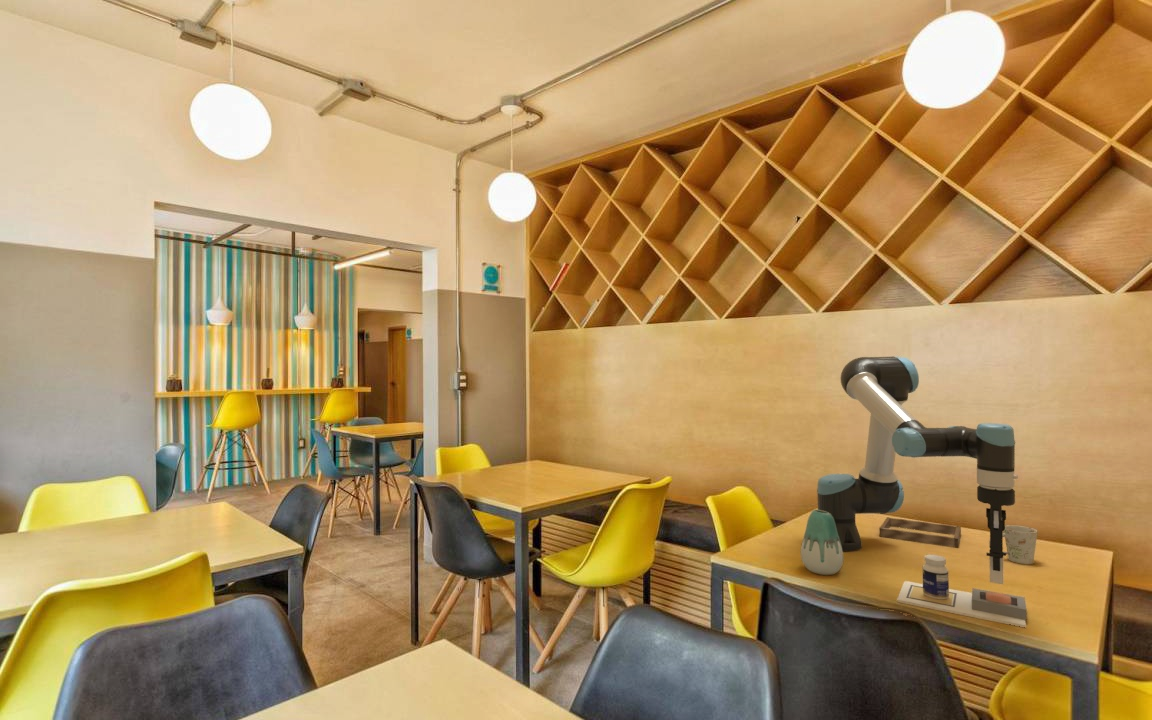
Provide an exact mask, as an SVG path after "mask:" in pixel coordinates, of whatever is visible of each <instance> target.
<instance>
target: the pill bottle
mask: <svg viewBox="0 0 1152 720" xmlns="http://www.w3.org/2000/svg"><path fill="white" fill-rule="evenodd" d="M924 562H925V563H924V564H923V565H922V584H923V593H924V595H926V596H927V597H930V598H933V599H939V600H945V599H947V598H948V597H949V589H950V588H949V587H950V586H949V585H950V583H949V581H950V580H949V569H948V568H947V567H946V564H947V559H946V558H945V557H944V556H942V555H941V556H940V555H938V554H937V555H936V554H926V555H924Z"/></svg>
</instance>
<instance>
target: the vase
mask: <svg viewBox="0 0 1152 720" xmlns="http://www.w3.org/2000/svg"><path fill="white" fill-rule="evenodd" d="M800 559H801V562H802V564H803V565H804V567H805V568H806V569H807V570H808V571H810V572H811V573H813V574H818V575H820V576H821V575H824V576H831V575H836V574H837V573H838V572H839V571H841V569H842V567H843V565H844V551H843V550H842V545H841V542H840V539H839V536H838V532H837V528H836V524H835V521H834V518H833V516H832V515H831V514H830V513H829V512H826V511H823V510H818V509H813V510H812V511H811V512H810V514H809V516H808V519H807V521H806V527H805V530H804V533H803V538H802V542H801V548H800Z"/></svg>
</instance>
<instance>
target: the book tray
mask: <svg viewBox="0 0 1152 720" xmlns="http://www.w3.org/2000/svg"><path fill="white" fill-rule="evenodd" d="M892 527H893V528H892ZM899 527H900V529H901V530H900V529H895V528H899ZM906 528H907V530H902V529H906ZM908 529H909V531H908ZM914 529H915V531H910V530H914ZM917 531H923V532H930V533H922V532H917ZM878 532H879V538H880V537H881V538H886V539H894V540H895V539H896V540H900V541H907V542H912V543H913V542H915V543H920V544H921V543H922V544H928V545H936V546H942V547H949V548H957V549H959V548H960V542H961V537H962V533H961V532H962V528H961V526H959V525H951V524H944V523H943V524H942V523H935V522H927V521H919V520H911V519H905V518H904V519H903V518H897V517H886V518H885V519H884V521H883V522H882V524H881V525H880V526H879V531H878ZM931 533H937V534H931ZM939 534H944V535H939ZM946 535H952V536H953V537H952V536H946Z"/></svg>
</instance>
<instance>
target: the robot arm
mask: <svg viewBox="0 0 1152 720" xmlns="http://www.w3.org/2000/svg"><path fill="white" fill-rule="evenodd" d="M919 379H920V376H919V372H918V369H917V367H916V365H915V364H914V362H913V361H912V360H910V359H909V358H907V357H902V356H870V357H869V356H861V357H856V358H854V359H852V360H849V362H847V364H845V366H844V367H843V369H842V371H841V374H840V385H841V388H842V389H843V391H844V392H845V393H846V394H847V395H848V396H849V397H850V398H851V399H853V400H857V401H858V403H860V404H861V405H862V406H863V407H864V408H865V409H866V410H867V411H868V412H869V413H870V418H869V426H868V437H867V444H866V445H867V446H866V451H865V452H866V454H865V463H864V467H863V468H862V469H860V470H859V472H858V478H855V477H854V475H852V474H850V473H849V474H848V473H833V474H827V475H826V474H825V475H824V476H821V477H820V478H819V479H818V481H817V489H816V493H817V495H816V496H817V510H823V511H826V512H829V513H830V514H831V515H832V516H833V518H834V521H835V524H836V528H837V532H838V536H839V539H840V542H841V545H842V550H843V552H854V551H859V550H861V549H862V546H863V543H862V538H861V535H860V532H859V530H858V527H857V525H856V524H857V523H856V514H857V515H859V514H868V515H869V514H870V515H871V514H872V515H873V514H880V515H885V514H891V513H895V512H897V511H899V510H900V508H901V507H902V506H903V502H904V498H905V492H904V491H903V490H904V487H903V485H902V483H901V481H900V480H899V479H898V478H899V477H898V476H897V475H896V473H894V470H895V461H896V454H897V455H898V456H900V457H909V458H910V457H911V458H928V457H929V458H932V457H935V458H936V457H941V458H942V457H966V458H971V459H976V483H977V484H978V486H977V487H976V488H977V489H976V490H977V492H976V497H977V498H976V499H977V500H978V502H981V503H982V504H988V505H990V507H989V508H988V507H986V508H985V509H986V510H985V513H986V514H985V517H986V518H987V529H989V540H990V545H989V552H986V556H987V557H989V583H993V584H998V585H1004V556H1006V557H1007V555H1006V553H1005V552H1006V551H1003V549H1004V547H1003V546H1004V545H1003V540H1004V539H1003V538H1004V537H1003V533H1004V530H1005V526H1006V524H1005V522H1006V520H1007V511H1006V510H1005V509H1002V507H1004V506H1006V507H1009V506H1013V505H1015V504H1016V491H1015V490H1014V488H1015V480H1017V479H1018V478H1019V477H1018V475H1017V474H1015V465H1016V464H1015V463H1016V462H1015V457H1016V456H1015V455H1016V454H1015V450H1016V449H1015V445H1016V440H1015V431H1014V427H1013V426H1012V425H1009V424H1005V423H994V422H993V423H992V422H988V423H987V422H986V423H985V422H984V423H979V424H977V426H976V428H972V427H966V426H965V425H960V426H959V425H951V426H947V427H926V426H925V425H923V424H922V423H921V422H920V421H919V420H918V419H916V417H914V416H913V414H911V413H910V412H909V411H908V410H907V409H906V408H905V407H903V404H904V403H906V402H907V401H908V400H909V399H908V398H909V394H912V393H914V392H915V391H916V389H918V387H919V383H920V380H919Z"/></svg>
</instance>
